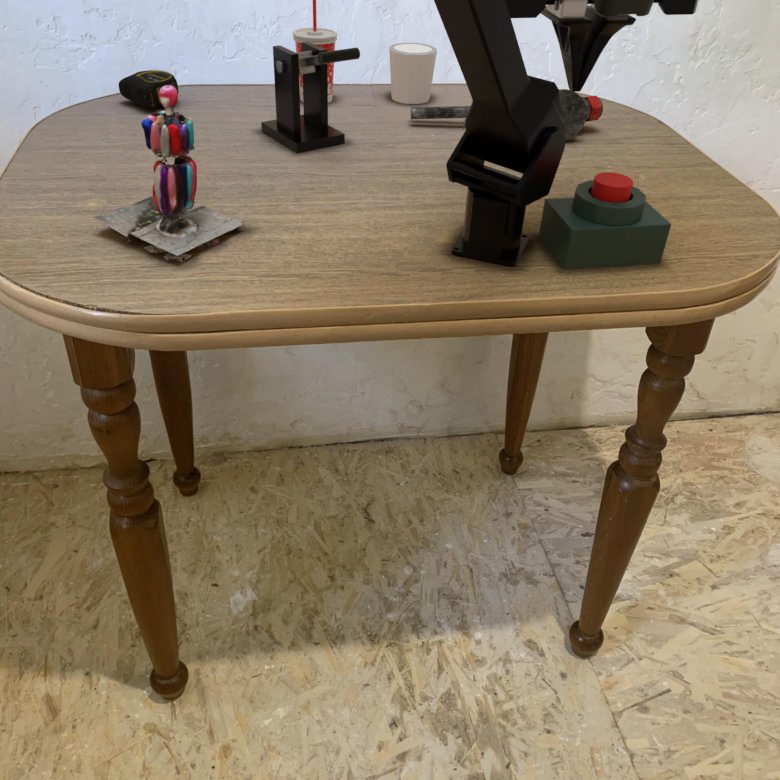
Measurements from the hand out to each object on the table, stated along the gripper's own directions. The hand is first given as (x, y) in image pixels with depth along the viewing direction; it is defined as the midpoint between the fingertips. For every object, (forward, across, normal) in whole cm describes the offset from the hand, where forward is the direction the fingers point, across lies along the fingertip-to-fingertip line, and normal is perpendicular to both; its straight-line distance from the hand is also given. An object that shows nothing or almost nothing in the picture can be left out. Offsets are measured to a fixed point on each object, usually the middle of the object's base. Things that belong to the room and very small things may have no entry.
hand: (574, 90), depth 75 cm
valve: (+14, +4, +30) cm, 33 cm away
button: (+7, +1, -9) cm, 11 cm away
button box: (+13, +1, -9) cm, 16 cm away
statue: (+13, -40, +1) cm, 42 cm away
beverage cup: (+13, -20, +42) cm, 48 cm away
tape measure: (+13, -43, +40) cm, 61 cm away
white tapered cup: (+14, -6, +41) cm, 44 cm away
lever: (+4, -22, +22) cm, 32 cm away
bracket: (+13, -24, +26) cm, 38 cm away
